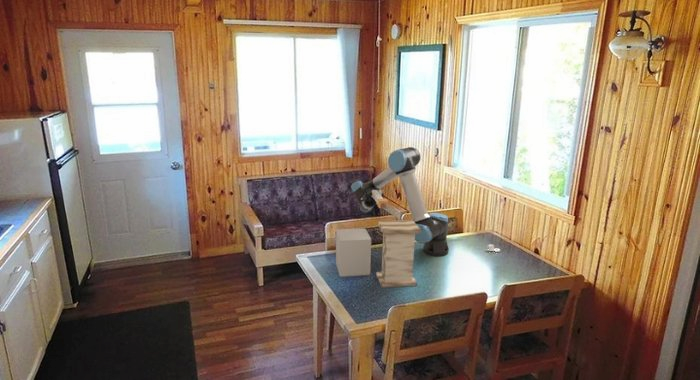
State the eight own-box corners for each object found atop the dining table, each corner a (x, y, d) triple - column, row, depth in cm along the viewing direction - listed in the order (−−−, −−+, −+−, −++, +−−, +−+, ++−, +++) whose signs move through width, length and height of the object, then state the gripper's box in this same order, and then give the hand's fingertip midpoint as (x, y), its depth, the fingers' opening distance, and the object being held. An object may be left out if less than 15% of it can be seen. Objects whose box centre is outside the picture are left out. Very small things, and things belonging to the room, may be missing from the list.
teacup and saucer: (500, 251, 270) (501, 245, 269) (497, 255, 264) (497, 249, 262) (486, 248, 275) (486, 241, 273) (482, 252, 268) (482, 246, 267)
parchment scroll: (375, 274, 236) (377, 221, 228) (409, 272, 239) (412, 219, 231) (382, 287, 223) (384, 230, 215) (417, 285, 226) (420, 229, 217)
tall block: (364, 261, 251) (365, 228, 246) (370, 274, 236) (371, 239, 231) (335, 263, 249) (336, 229, 243) (339, 276, 233) (340, 240, 228)
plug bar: (370, 195, 255) (370, 188, 254) (378, 195, 256) (378, 188, 254) (379, 208, 232) (379, 201, 231) (387, 208, 233) (388, 200, 232)
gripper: (383, 207, 269) (392, 198, 246) (356, 208, 267) (363, 199, 244) (382, 195, 271) (391, 185, 248) (355, 195, 268) (362, 185, 246)
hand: (377, 192), depth 246 cm, fingers closed on plug bar, 3 cm apart
